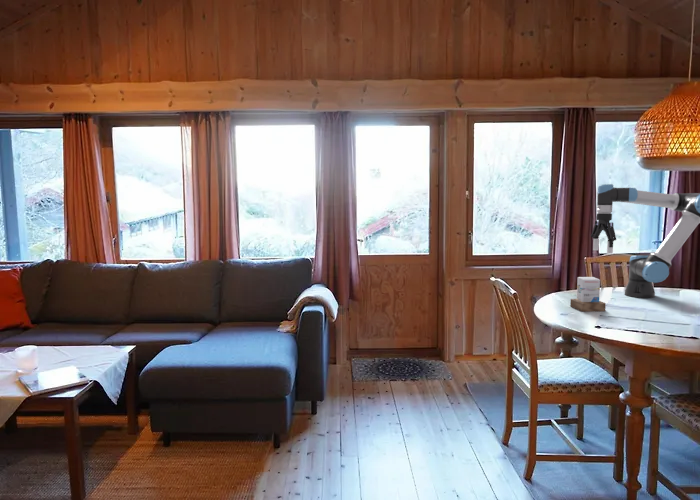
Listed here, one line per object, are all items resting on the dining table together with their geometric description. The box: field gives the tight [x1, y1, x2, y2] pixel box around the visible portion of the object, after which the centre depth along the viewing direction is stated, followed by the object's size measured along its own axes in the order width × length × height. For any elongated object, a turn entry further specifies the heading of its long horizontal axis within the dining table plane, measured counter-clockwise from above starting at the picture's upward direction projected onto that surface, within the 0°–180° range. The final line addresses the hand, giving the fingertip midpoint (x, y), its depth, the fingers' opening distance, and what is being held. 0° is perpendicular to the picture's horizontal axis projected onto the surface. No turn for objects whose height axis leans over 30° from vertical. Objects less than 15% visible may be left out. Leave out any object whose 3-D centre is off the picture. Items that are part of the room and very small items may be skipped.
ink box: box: [576, 276, 601, 302], centre depth 264 cm, size 8×8×12 cm
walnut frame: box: [569, 298, 606, 313], centre depth 265 cm, size 12×12×4 cm
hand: (602, 251), depth 282 cm, fingers open, 13 cm apart
